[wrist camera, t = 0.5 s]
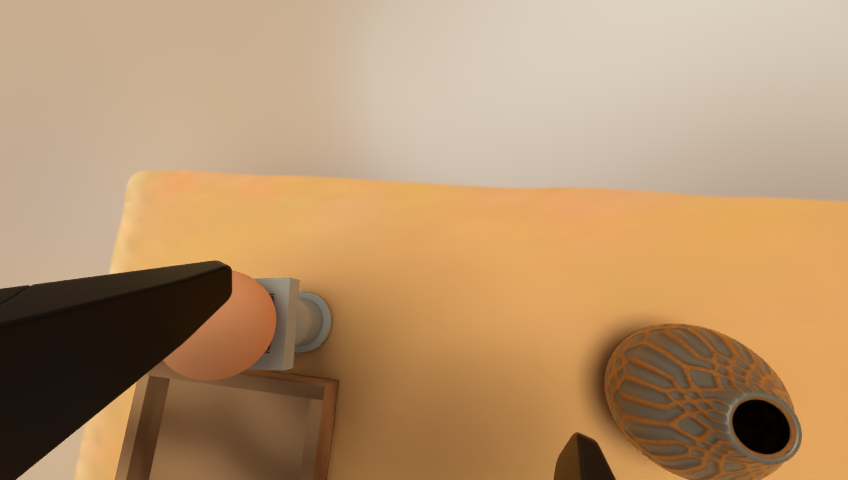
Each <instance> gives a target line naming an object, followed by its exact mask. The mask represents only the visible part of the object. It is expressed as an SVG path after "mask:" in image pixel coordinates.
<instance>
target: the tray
mask: <svg viewBox="0 0 848 480" xmlns="http://www.w3.org/2000/svg"><path fill="white" fill-rule="evenodd" d="M338 385H339V380H333V379H326V378H318V377H310V376H303V375H295V374H287V373H280V372H272V371H264V370H247V369H246V370H244V371H242V372H240V373H239V374H236V375H234V376H231V377H228V378H224V379H219V380H210V381H208V380H196V379H192V378H188V377H185V376H183V375H181V374H179V373H177V372H175V371H174V370H172V369H171V368H170V367H169V366H168V365H167V364H166V363H165V362H164V361H161V362H160V363H159V364H158V365H156V366H155V367H154V368H153V369H151V370H150V371H149V372H148V373H147V374H145V375H144V376H143V377H142V378H140V379H139V380H138V381H137V384H136V388H135V393H134V397H133V402H132V406H131V410H130V415H129V419H128V424H127V428H126V433H125V437H124V441H123V446H122V450H121V455H120V459H119V463H118V468H117V472H116V477H115V480H326V479H327V472H328V464H329V456H330V448H331V440H332V432H333V424H334V417H335V409H336V401H337V393H338Z"/></svg>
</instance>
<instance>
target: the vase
mask: <svg viewBox="0 0 848 480" xmlns="http://www.w3.org/2000/svg"><path fill="white" fill-rule="evenodd" d="M604 388H605V395H606V400H607V403H608V406H609V409H610V412H611V414H612V416H613V418H614V420H615V422H616V424H617V425H618V427H619V428H620V430H621V431H622V433H623V434H624V435H625V436H626V437H627V439H628V440H629V441H630V442H631V443H632V444H633V445H634V446H635V447H636V448H637V449H638V450H639V451H640V452H641V453H642V454H644V455H645V456H646V457H647V458H649V459H650V460H651V461H653V462H654V463H656V464H657V465H659V466H660V467H662V468H664V469H666V470H667V471H669V472H671V473H673V474H676V475H678V476H680V477H683V478H686V479H689V480H760V479H762V478H764V477H766V476H768V475H770V474H771V473H773V472H774V471H775V470H777V469H778V468H779V467H780V466H781V465H782V464H783V462H785V461H787V460H789V459H790V458H792V457H793V456H794V455H795V454H796V452H797V451H798V449H799V447H800V444H801V439H802V432H801V426H800V423H799V420H798V418H797V416H796V415H795V411H794V407H793V404H792V401H791V398H790V396H789V394H788V392H787V390H786V388H785V386H784V384H783V383H782V381H781V380H780V378H779V377H778V375H777V374H776V373H775V372H774V370H773V369H772V368H771V367H770V366H769V365H768V364H767V363H766V362H765V361H764V360H763V359H762V358H761V357H759V356H758V355H757V354H756V353H754V352H753V351H752V350H750V349H749V348H747V347H746V346H744V345H743V344H741V343H739V342H738V341H736V340H734V339H732V338H730V337H728V336H726V335H724V334H722V333H719V332H717V331H714V330H711V329H707V328H704V327H700V326H694V325H686V324H664V325H657V326H652V327H648V328H645V329H642V330H640V331H637V332H635V333H634V334H632V335H630V336H629V337H627V338H626V339H625V340H623V341H622V342H621V343H620V344H619V345H618V346H617V348H616V349H615V350H614V352H613V353H612V355H611V357H610V359H609V361H608V364H607V367H606V371H605V378H604Z"/></svg>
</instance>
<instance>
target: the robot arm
mask: <svg viewBox="0 0 848 480" xmlns="http://www.w3.org/2000/svg"><path fill="white" fill-rule="evenodd" d="M231 295H232V269H231V267H230V266H228V265H226V264H224V263H222V262H220V261H207V262H200V263H192V264H185V265H177V266H170V267H162V268H155V269H147V270H140V271H132V272H124V273H117V274H109V275H103V276H94V277H87V278H79V279H72V280H64V281H57V282H49V283H42V284H35V285H32V286H28V285H26V286H18V287H12V288H3V289H0V480H16V479H17V478H18V477H20V476H21V475H22V474H23V473H25V472H26V471H27V470H28V469H29V468H31V467H32V466H33V465H34V464H36V463H37V462H38V461H39V460H41V459H42V458H43V457H44V456H46V455H47V454H48V453H49V452H50V451H52V450H53V449H54V448H55V447H57V446H58V445H59V444H60V443H62V442H63V441H64V440H65V439H66V438H68V437H69V436H70V435H71V434H73V433H74V432H75V431H76V430H78V429H79V428H80V427H81V426H82V425H84V424H85V423H86V422H87V421H89V420H90V419H91V418H92V417H94V416H95V415H96V414H97V413H99V412H100V411H101V410H102V409H103V408H105V407H106V406H107V405H108V404H110V403H111V402H112V401H113V400H115V399H116V398H117V397H118V396H119V395H121V394H122V393H123V392H124V391H126V390H127V389H128V388H129V387H131V386H132V385H133V384H134V383H135V382H137V381H138V380H139V379H140V378H142V377H143V376H144V375H145V374H147V373H148V372H149V371H150V370H151V369H153V368H154V367H155V366H156V365H158V364H159V363H160V362H161V361H163V360H164V359H165V358H166V357H167V356H169V355H170V354H171V353H172V352H174V351H175V350H176V349H177V348H178V347H180V346H181V345H182V344H183V343H184V342H185V341H186V340H188V339H189V338H190V337H191V336H192V335H193V334H194V333H195V332H196V331H197V330H198V329H199V328H200V327H201V326H202V325H203V324H204V323H205V322H206V321H207V320H208V319H209V318H210V317H211V316H212V315H213V314H214V313H215V312H217V311H218V310H219V309H220V308H221V307H222V306H223V305H224V304H225V303H226V302H227V301H228V300H229V298H230V297H231ZM553 480H616V479H615V477H614V475H613V473H612V471H611V469H610V467H609V465H608V463H607V461H606V459H605V457H604V455H603V453H602V451H601V449H600V447H599V445H598V443H597V442H596V441H595V440H594V439H592V438H589V437H587V436H585V435H583V434H581V433H578V432H576V433H574V434H573V435H572V437H571V438H570V440H569V441H568V443H567V444H566V446H565V447H564V449H563V450H562V452H561V453H560V455H559V457H558V460H557V463H556V468H555V473H554V479H553Z"/></svg>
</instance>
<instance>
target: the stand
mask: <svg viewBox="0 0 848 480" xmlns="http://www.w3.org/2000/svg"><path fill="white" fill-rule="evenodd" d="M255 280H256V281H257V282H259V283H260V284H261V285H262V286H263V287H264V288H265V289H266V291H267V292H268V293H269V295H270V297H271V299H272V301H273V303H274V306H275V310H276V328H275V333H274V336H273V339H272V341H271V343H270V345H269V347H268V348H267V350H266V351H265V353H264V354H263V355H262V356H261V357H260V358H259V359H258V360H257V361H256V362H255V363H254V364H253V365H252V366H250V367H249V368H247V370H281V371H283V370H287V369H291V368H293V363H294V352H297V353H301V352H307V351H311V350H314V349H316V348H318V347H319V346H320V345H322V344H323V343H324V342H325V340H326V339H327V337H328V336H329V334H330V331H331V328H332V313H331V309H330V307H329V305H328V303H327V302H326V301H325V300H324V299H323V298H322V297H321V296H319V295H317V294H314V293H309V292H299V281H300V280H297V279H292V278H262V279H255ZM269 351H270V352H269Z"/></svg>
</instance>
